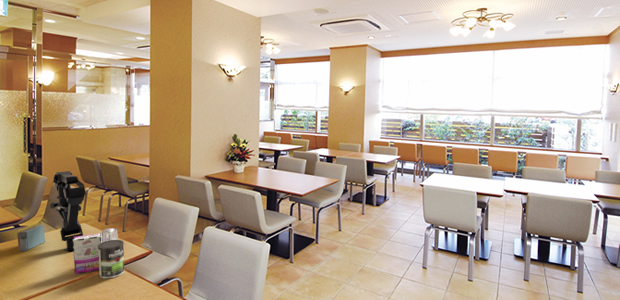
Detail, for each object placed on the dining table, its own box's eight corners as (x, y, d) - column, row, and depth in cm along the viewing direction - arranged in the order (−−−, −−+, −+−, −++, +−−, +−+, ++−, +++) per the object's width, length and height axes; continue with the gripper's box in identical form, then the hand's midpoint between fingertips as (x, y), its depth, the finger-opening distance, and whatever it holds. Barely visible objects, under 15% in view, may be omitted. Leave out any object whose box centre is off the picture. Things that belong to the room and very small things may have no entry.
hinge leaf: (45, 242, 194) (44, 225, 193) (24, 252, 181) (22, 233, 180) (41, 242, 194) (40, 225, 193) (20, 251, 182) (18, 233, 180)
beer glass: (122, 258, 178) (120, 229, 176) (109, 263, 171) (107, 233, 170) (112, 255, 181) (111, 227, 179) (99, 260, 174) (98, 231, 172)
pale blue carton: (46, 242, 195) (45, 224, 193) (24, 252, 181) (22, 233, 180) (39, 242, 195) (38, 224, 194) (16, 252, 182) (15, 232, 181)
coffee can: (129, 271, 164) (128, 242, 162) (107, 280, 155) (105, 250, 153) (116, 266, 169) (115, 237, 167) (94, 274, 160) (92, 245, 158)
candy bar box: (103, 265, 169) (101, 232, 167) (103, 269, 165) (101, 236, 163) (76, 270, 164) (73, 236, 162) (74, 274, 160) (72, 240, 158)
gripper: (90, 193, 195) (91, 220, 197) (70, 189, 203) (71, 215, 205) (69, 197, 185) (70, 226, 187) (48, 193, 193) (50, 220, 195)
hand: (66, 221), depth 194 cm, fingers closed
